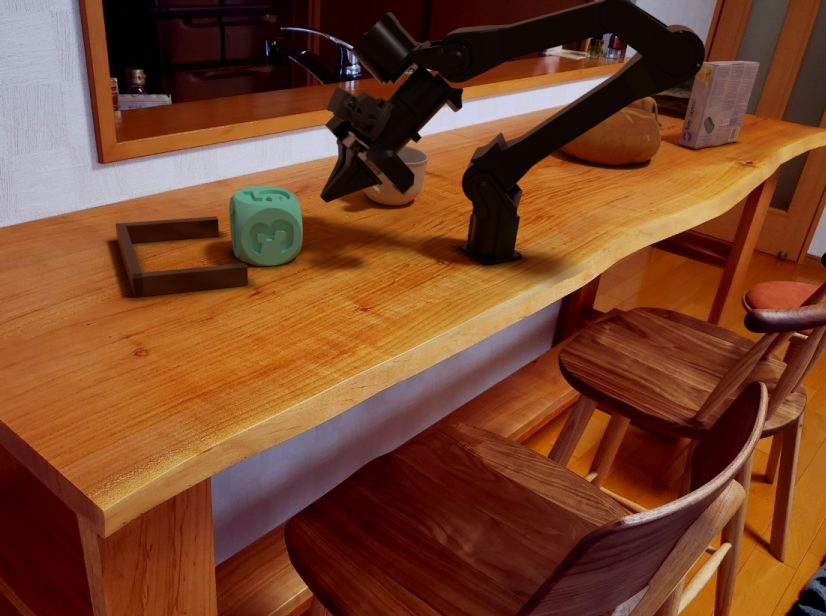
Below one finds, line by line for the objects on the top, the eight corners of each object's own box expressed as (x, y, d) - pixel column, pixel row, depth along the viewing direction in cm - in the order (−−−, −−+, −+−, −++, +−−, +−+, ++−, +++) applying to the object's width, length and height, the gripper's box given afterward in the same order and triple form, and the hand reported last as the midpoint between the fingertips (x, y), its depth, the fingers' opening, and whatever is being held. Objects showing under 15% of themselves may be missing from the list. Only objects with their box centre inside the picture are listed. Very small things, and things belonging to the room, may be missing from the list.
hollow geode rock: (721, 143, 192) (755, 97, 193) (714, 111, 182) (750, 62, 183) (629, 115, 210) (661, 73, 210) (618, 85, 200) (651, 40, 200)
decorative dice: (230, 244, 101) (228, 186, 97) (288, 241, 103) (288, 184, 99) (240, 268, 94) (238, 207, 90) (302, 264, 97) (303, 204, 93)
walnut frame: (217, 233, 104) (216, 216, 103) (248, 285, 90) (247, 266, 89) (117, 241, 99) (115, 223, 98) (134, 297, 85) (131, 277, 84)
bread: (686, 168, 151) (701, 117, 146) (590, 173, 143) (601, 120, 138) (617, 138, 169) (627, 92, 164) (528, 141, 161) (536, 93, 156)
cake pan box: (721, 136, 178) (744, 57, 169) (740, 141, 175) (765, 61, 166) (675, 145, 168) (697, 61, 158) (694, 150, 164) (718, 65, 155)
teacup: (385, 184, 128) (389, 137, 124) (437, 201, 122) (442, 152, 118) (330, 202, 118) (331, 151, 114) (383, 220, 113) (386, 168, 109)
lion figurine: (598, 120, 184) (607, 81, 180) (604, 116, 188) (612, 78, 184) (659, 130, 179) (669, 91, 174) (663, 126, 183) (673, 88, 178)
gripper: (342, 51, 99) (261, 138, 100) (399, 80, 84) (303, 181, 86) (392, 111, 106) (316, 192, 107) (453, 147, 91) (363, 240, 93)
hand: (323, 199), depth 98 cm, fingers closed
